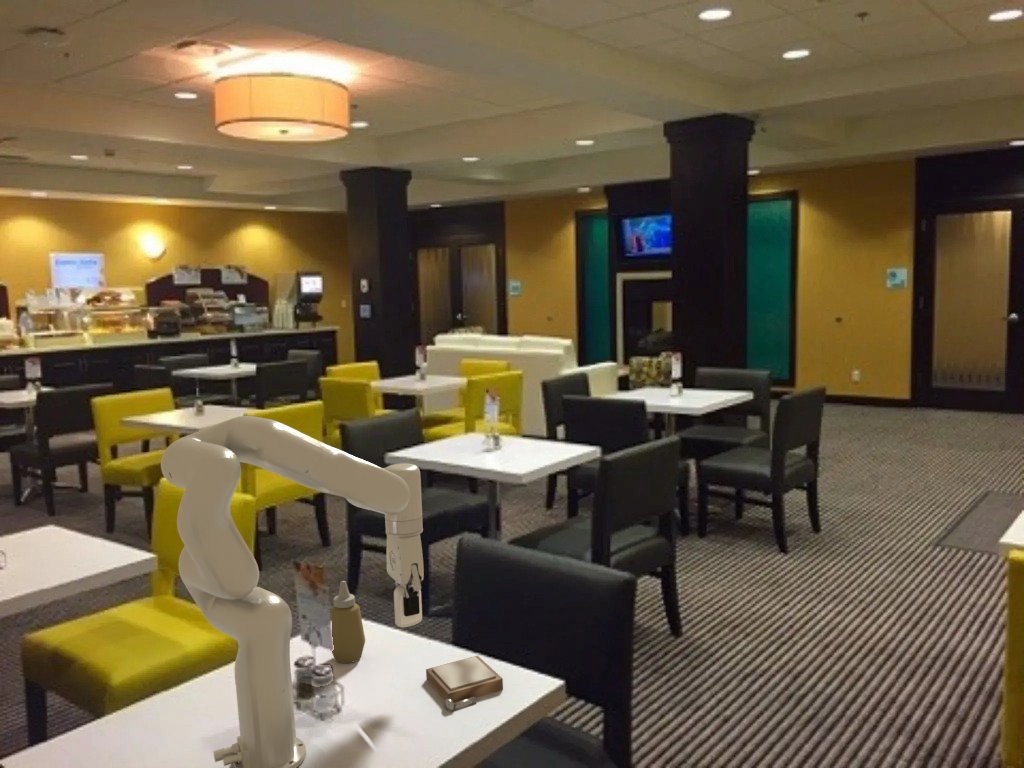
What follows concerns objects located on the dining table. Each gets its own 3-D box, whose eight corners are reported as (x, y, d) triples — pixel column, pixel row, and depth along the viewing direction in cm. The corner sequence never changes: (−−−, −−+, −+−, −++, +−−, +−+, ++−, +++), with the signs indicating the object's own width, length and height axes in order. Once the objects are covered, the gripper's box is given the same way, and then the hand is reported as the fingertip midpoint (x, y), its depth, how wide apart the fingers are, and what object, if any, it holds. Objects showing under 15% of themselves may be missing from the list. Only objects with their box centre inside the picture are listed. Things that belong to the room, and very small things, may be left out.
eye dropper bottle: (423, 626, 176) (420, 569, 175) (395, 628, 175) (392, 572, 174) (421, 617, 180) (419, 562, 179) (394, 620, 179) (391, 564, 178)
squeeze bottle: (328, 653, 197) (322, 578, 194) (363, 647, 199) (358, 573, 196) (331, 669, 189) (326, 590, 186) (368, 662, 191) (363, 585, 189)
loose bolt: (451, 712, 167) (447, 698, 168) (446, 714, 169) (442, 700, 170) (478, 704, 170) (474, 690, 171) (473, 705, 172) (469, 692, 173)
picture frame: (449, 707, 171) (448, 691, 170) (426, 682, 181) (425, 667, 181) (503, 692, 176) (502, 676, 176) (478, 668, 187) (477, 653, 186)
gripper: (373, 517, 181) (377, 601, 183) (400, 538, 166) (404, 629, 168) (407, 512, 184) (411, 594, 186) (436, 532, 169) (440, 621, 172)
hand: (408, 610), depth 177 cm, fingers closed on eye dropper bottle, 3 cm apart
